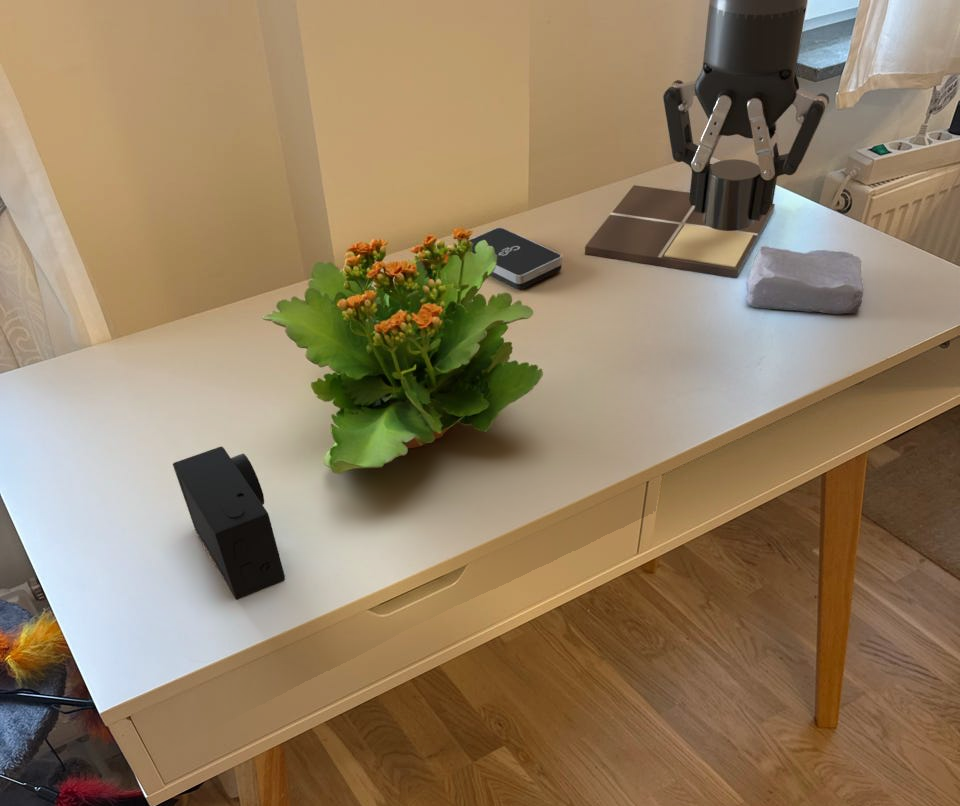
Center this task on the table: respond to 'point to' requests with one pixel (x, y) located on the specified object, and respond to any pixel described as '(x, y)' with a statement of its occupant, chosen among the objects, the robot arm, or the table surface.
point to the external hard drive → (519, 258)
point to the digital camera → (231, 518)
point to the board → (672, 234)
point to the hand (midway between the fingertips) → (729, 212)
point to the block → (805, 281)
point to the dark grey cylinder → (730, 194)
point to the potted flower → (407, 346)
